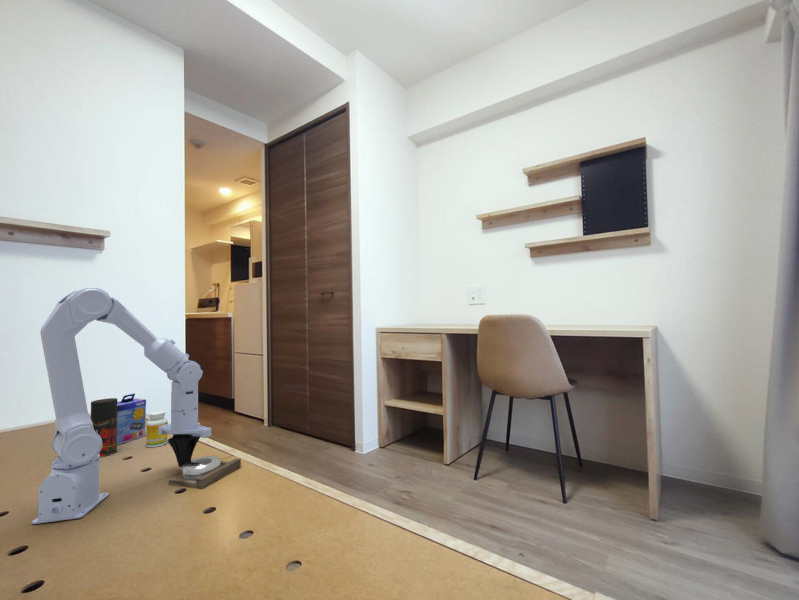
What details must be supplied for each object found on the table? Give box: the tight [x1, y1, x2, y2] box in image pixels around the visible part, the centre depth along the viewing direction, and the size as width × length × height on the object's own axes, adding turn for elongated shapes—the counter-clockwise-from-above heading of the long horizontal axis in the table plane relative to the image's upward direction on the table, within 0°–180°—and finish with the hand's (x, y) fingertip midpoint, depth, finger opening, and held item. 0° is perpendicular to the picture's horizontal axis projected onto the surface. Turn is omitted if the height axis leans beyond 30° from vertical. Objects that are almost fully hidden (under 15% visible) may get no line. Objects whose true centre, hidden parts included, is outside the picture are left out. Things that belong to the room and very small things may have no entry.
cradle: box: [167, 457, 242, 490], centre depth 86 cm, size 10×12×2 cm
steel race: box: [181, 455, 221, 481], centre depth 87 cm, size 8×8×3 cm
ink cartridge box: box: [117, 393, 147, 446], centre depth 115 cm, size 10×6×14 cm, turn 163°
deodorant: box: [90, 397, 118, 458], centre depth 103 cm, size 6×6×15 cm
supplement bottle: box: [145, 410, 169, 448], centre depth 109 cm, size 5×5×10 cm
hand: (184, 465), depth 88 cm, fingers closed
